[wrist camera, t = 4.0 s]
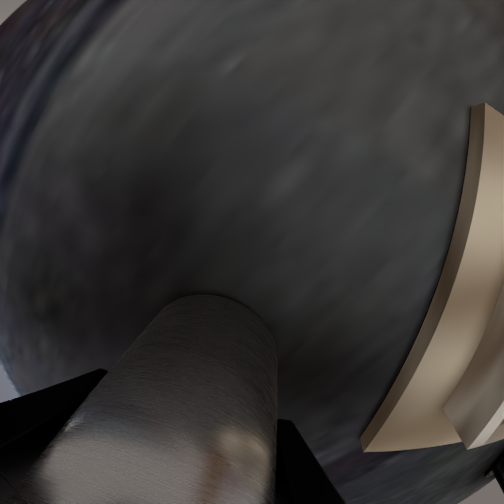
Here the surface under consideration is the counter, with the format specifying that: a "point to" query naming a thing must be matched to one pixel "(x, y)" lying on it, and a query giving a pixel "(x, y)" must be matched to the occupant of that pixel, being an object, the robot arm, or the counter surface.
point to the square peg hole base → (458, 322)
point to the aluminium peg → (173, 417)
